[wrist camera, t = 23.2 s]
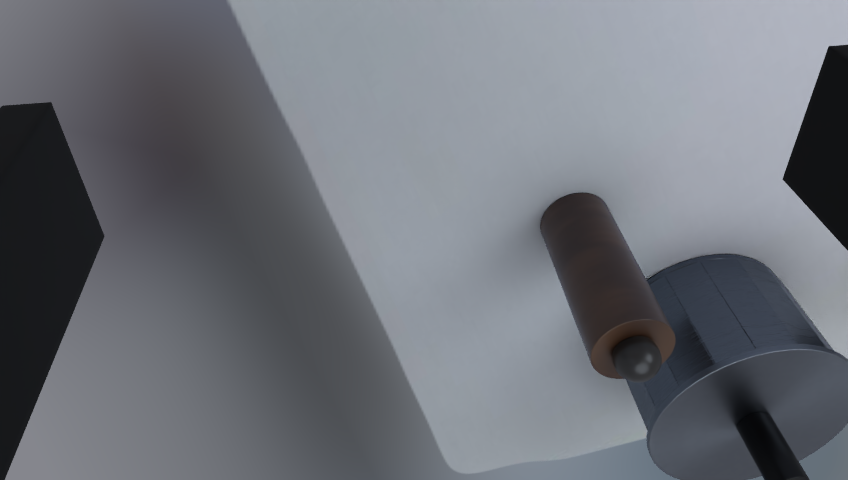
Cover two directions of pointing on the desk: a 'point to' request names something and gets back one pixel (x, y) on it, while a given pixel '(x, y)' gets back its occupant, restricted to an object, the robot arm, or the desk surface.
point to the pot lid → (752, 415)
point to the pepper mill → (606, 290)
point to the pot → (719, 319)
